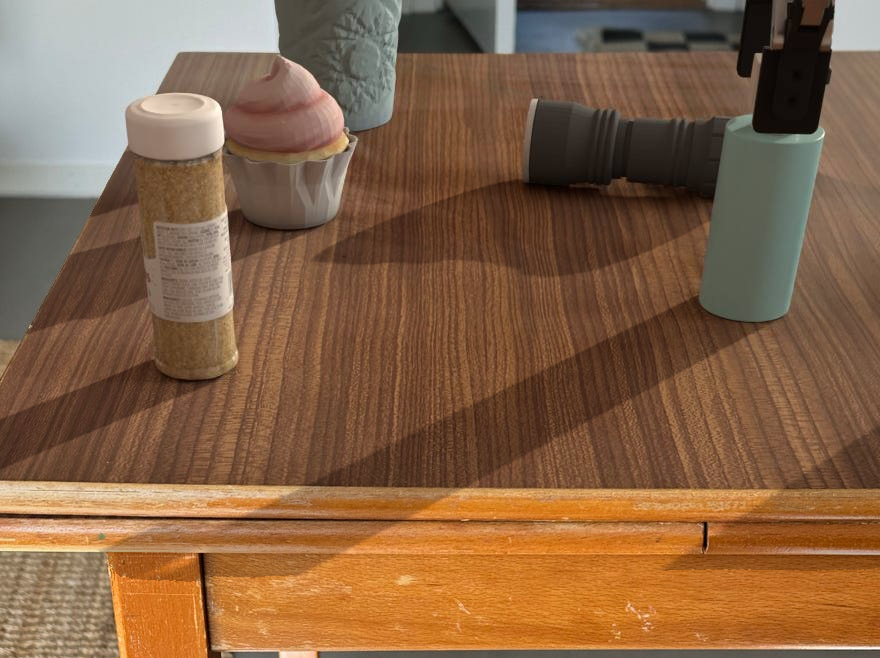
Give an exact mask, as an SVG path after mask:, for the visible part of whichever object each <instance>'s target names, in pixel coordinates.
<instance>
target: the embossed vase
mask: <svg viewBox="0 0 880 658" xmlns="http://www.w3.org/2000/svg"><path fill="white" fill-rule="evenodd" d="M273 1H274V11H275V17H276V21H277V29H278V42H277V43H278V44H277V48H278V50H279V55H280V56H282V57H284V58H286V59H288V60H290V61H292V62H294V63H296V64H298V65H300V66H302V67H303V68H304V69H306V70H307V71H308V72H309V73H311V74H312V76H313V77H314V78H315V80H316V81H317V83H318V84H319V86H320V88H321V89H323V90H324V91H326V92H327V93H328V94H329V95H331V96H332V97H333V98H334V99H335V100H336V102H337V104H338V105H339V107H340V108H341V111H342V113H343V118H344V127H348V128H349V133H351V132H360V131H366V130H371V129H374V128H378V127H381V126H383V125H385V124H386V123H388V122H389V121H391V119H392V116H393V112H394V102H395V91H396V90H395V89H396V80H397V75H396V65H397V58H398V57H397V56H398V55H397V54H398V52H397V50H398V46H399V45H398V42H399V24H400V21H401V18H402V9H403V0H273Z"/></svg>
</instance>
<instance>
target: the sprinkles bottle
mask: <svg viewBox="0 0 880 658" xmlns="http://www.w3.org/2000/svg"><path fill="white" fill-rule="evenodd" d="M124 113H125V114H124V117H125V128H126V135H127V136H126V137H127V144H128V145H127V146H128V148H129V149H130V151H131V152H132V153H131V154H132V155H131V156H132V159H133V160H134V171H135V178H136V180H135V181H136V190H137V199H138V210H139V217H140V220H139V221H140V237H141V247H142V255H143V265H144V273H145V280H146V281H145V282H146V283H145V284H146V291H147V301H148V307H149V310H150V313H151V322H152V330H153V340H154V341H153V342H154V347H155V350H154V355H153V358H154V364H155V366H156V368H157V369H158V371H159V372H161V374H164V375H166V376H167V377H170V378H173V379H180V380H188V381H195V380H200V381H202V380H208V379H214V378H217V377H220V376H222V375H225V374H227V373H229V372H230V371H232V370H233V369H234V368H235V367H236V366H237V365H238V361H239V356H240V355H239V350H238V347H237V346H236V337H235V324H234V305H235V299H234V286H233V285H234V284H233V283H234V282H233V272H232V258H231V256H232V255H231V246H230V245H231V244H230V233H229V232H230V231H229V218H228V207H227V204H226V195H225V181H224V169H223V159H222V146H223V144H224V127H223V111H222V107H221V105H220V104H219V103H218V101H216V100H215V99H214V98H211V97H209V96H206V95H201V94H198V93H197V94H196V93H190V92H165V93H159V94H158V93H157V94H152V95H147V96H144V97H140V98H138V99H135V100H134V101H132V102H131V103H130V104H128V105H127V107H126V109H125V111H124Z"/></svg>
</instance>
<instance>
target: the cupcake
mask: <svg viewBox="0 0 880 658" xmlns="http://www.w3.org/2000/svg"><path fill="white" fill-rule="evenodd" d="M222 119H223V129H224V144H223V146H222V161H223V162H224V164H225V165H226V167H227V169H228V170H229V175H230V177H231V180H232V183H233V186H234V189H235V192H236V195H237V199H238V201H239V202H238V203H239V205H240V208H241V212H242V214H243V215H244V217H245V219H247V220H248V221H249V222H250V223H253V224H255V225H257V226H261V227H265V228H269V229H277V230H298V229H299V230H300V229H308V228H312V227H316V226H320V225H324V224H327V222H329V221H331V220H333V218H335V217H336V216H337V213H338V211H339V208H340V204H341V199H342V193H343V188H344V184H345V180H346V175H347V172H348V168H349V164H350V161H351V159H352V156H353V154H354V150H355V149H356V146H357V144H358V141H359V138H358V137H357V136H356V135H352V134H350V132H349V128H348V127H344V118H343V113H342V111H341V108H340V107H339V105H338V104H337V102H336V100H335V99H334V98H333V97H332V96H331V95H329V94H328V93H327V92H326V91H324V90H323V89H321V88H320V86H319V84H318V83H317V81H316V80H315V78H314V77H313V76H312V74H311V73H309V72H308V71H307V70H306V69H304V68H303V67H302V66H300V65H298V64H296V63H294V62H292V61H290V60H288V59H286V58H284V57H282V56H281V54H277V55H276V56H275V58H274V61H273V63H272V67H271V70H270V73H268V74H267V73H266V74H263V75H260V76H258V77H256V78H253V79H252V80H250V81H249V82H248V83H247V84H246V85H245V86H244V87H243V88H242V90H241V91H240V92H239V93H238V96H237V98H236V100H235V102H232V104H231V105H230V106H229V107H228V108H227V109H226V111H225V113H224V114H223V117H222Z"/></svg>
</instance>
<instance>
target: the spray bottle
mask: <svg viewBox="0 0 880 658" xmlns="http://www.w3.org/2000/svg"><path fill="white" fill-rule="evenodd" d="M761 59H762V53H755V55H754V61H753V67H752V73H751V78H749V79H750V80H749V86H748V91H747V97H746V103H747V106H748V110H749V112H750V114H743V115H738V116H734V117H735V118H733V119H731V120H729V121H728V122H727V124H726V128H725V134H724V140H723V147H722V153H721V159H720V166H719V172H718V178H717V185H716V191H715V197H714V198H713V204H712V210H711V217H710V224H709V228H708V235H707V242H706V247H705V255H704V262H703V267H702V272H701V273H702V274H701V280H700V286H699V293H698V303H699V304H700V306H701V307H702V308H703V309H704V310H706V311H707V312H709V313H711V314H712V315H715V316H717V317H720V318H723V319H726V320H731V321H736V322H746V323H761V322H769V321H774V320H777V319H780V318H782V317H784V316H785V315H786V314H787V313H788V311H790V308H791V307H790V306H791V301H792V296H793V291H794V287H795V283H796V282H795V281H796V277H797V272H798V267H799V262H800V257H801V253H802V247H803V242H804V237H805V233H806V228H807V223H808V217H809V213H810V209H811V203H812V198H813V194H814V188H815V184H816V178H817V173H818V169H819V164H820V159H821V154H822V149H823V144H824V140H825V134H826V133H825V129H824V128H823V127H821V125H819V126H818V129H817V131H816V132H815V133H813V134H810V135H803V134H765V133H757V132H755V131H754V129H753V126H752V119H753V112H754V105H755V99H756V92H757V85H758V79H759V72H760V65H761ZM832 72H833V69H832V67H831V65H829V71H828V76H827V82H826V86H828V85H829V84H830V83H831V79H832V78H831V77H832Z"/></svg>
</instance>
